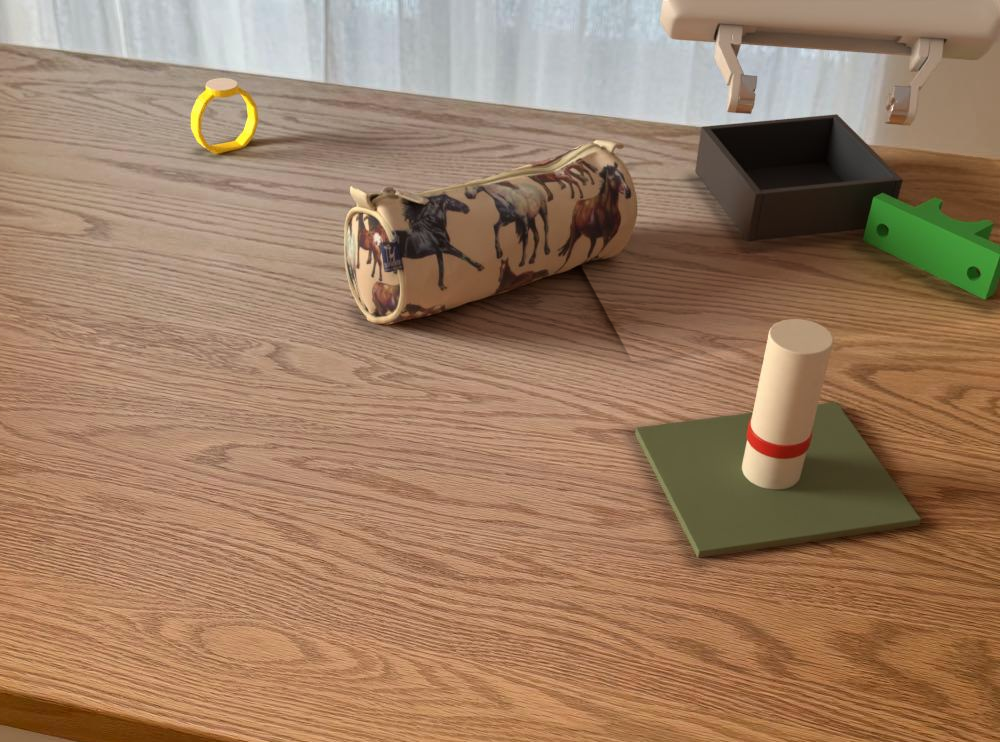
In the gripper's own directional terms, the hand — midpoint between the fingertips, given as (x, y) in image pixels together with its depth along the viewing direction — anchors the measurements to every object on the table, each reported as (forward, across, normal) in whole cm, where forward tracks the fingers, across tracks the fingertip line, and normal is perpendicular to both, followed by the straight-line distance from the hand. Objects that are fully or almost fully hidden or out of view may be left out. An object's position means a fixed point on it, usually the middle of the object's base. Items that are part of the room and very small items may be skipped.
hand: (819, 115), depth 74 cm
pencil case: (+8, -20, +18) cm, 28 cm away
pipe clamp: (+2, +13, +23) cm, 27 cm away
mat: (+22, 0, +4) cm, 22 cm away
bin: (-4, +3, +29) cm, 30 cm away
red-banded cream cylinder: (+21, 0, +3) cm, 21 cm away
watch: (-6, -46, +32) cm, 57 cm away
